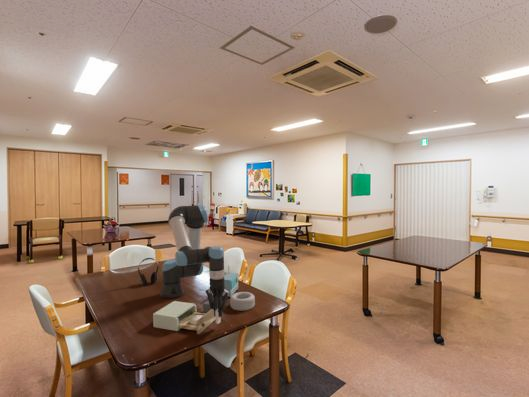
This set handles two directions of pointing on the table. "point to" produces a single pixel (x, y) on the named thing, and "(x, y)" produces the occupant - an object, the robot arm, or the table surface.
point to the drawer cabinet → (172, 315)
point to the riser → (206, 307)
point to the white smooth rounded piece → (195, 319)
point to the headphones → (153, 276)
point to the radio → (230, 283)
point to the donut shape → (242, 301)
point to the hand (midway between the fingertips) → (218, 322)
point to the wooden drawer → (198, 321)
